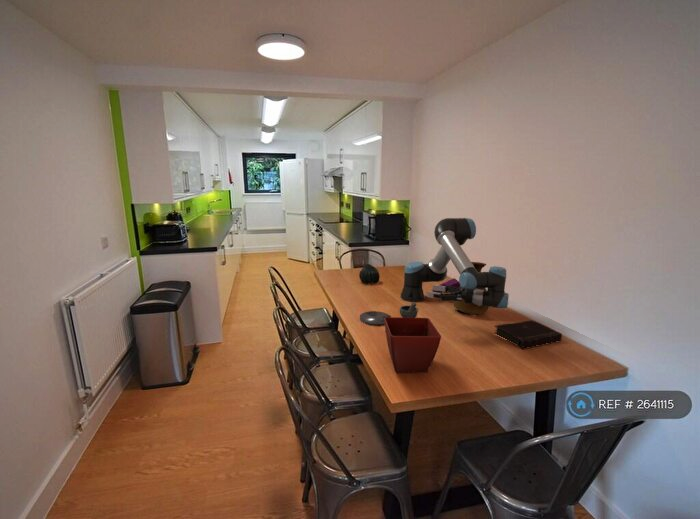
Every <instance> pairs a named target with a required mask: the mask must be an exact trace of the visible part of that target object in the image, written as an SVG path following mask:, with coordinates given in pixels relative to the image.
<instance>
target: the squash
mask: <svg viewBox="0 0 700 519" xmlns="http://www.w3.org/2000/svg"><path fill="white" fill-rule="evenodd" d="M380 277H381V276H380V272H379V270H378V268H376V267H375V266H373V265H372V264H370V263H366V264H365V265H364V266H363V267H362V268H361V269H360V270H359V276H358V278H359V280H360V282H361V283H363V284H365V285H369V284H374V285H375V284H377V283H379V281H380Z"/></svg>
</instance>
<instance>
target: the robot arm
mask: <svg viewBox="0 0 700 519" xmlns="http://www.w3.org/2000/svg"><path fill="white" fill-rule="evenodd" d="M476 235H477V226H476V223H475V221H474V220H473V219H472V218H468V217H453V218H452V217H450V218H449V217H446V218H443V219H441V220H439V221H438V223H437V224H436V226H434V238H435V240H436V243H438V244H439V245H441V246H440V248H439V250H438V252H437V253H436V255H435V256H434V258H432V259H430V260H429V261H428V263H423V262H422V261H411V262H410V261H409V262H408V263H406V264H405V265H404V277H403V278H404V281H403V283H404V284H403V287H402V291H401V293H400V299H401V298H402V300H403V299H404V300H403V301H407V302H411V303H412V302H415V303H417V302H422V301H424V300H425V293H424V289H423V283H435V282H436V283H437V282H438V283H439V282H443V281H444V280H445V279H447V277H448V274H447V273H448V268H447V265H448V264H449V262H450V261H451V262H452V264H453V265H454V267H455V269H456V270H457V272H458V273H459V278H458V281H459V283H460V286H461V287H462V288H464V289H460V288H456V287H453V286H449V285H448V286H439V285H440V284H432V289H433V290H436V291H444V292H445V293H444V292H442V293H436V292H433V291H426V297H427V298H431V299H437V300H439V299H440V301H443V302H445V301H446V302H453V301H462V299H464V302H465V303H468V304H472V303H473V304H476V305H478V306H480V305H483V306H489V307H490V308H494V309H495V308H496V309H506V308H508V304H509V293H508V292H505V289H506V288H505V286H506V281H507V269H506V268H505V267H502V266H495V265H493V266H490V267H489V270H488V271H481V272H478V271H477V270H476V269H475V267H474V266H473V264H472V263H471V262H472V261H471V260H470V258H469V257H468V255H467V253H466V252H465V250H463V248H462V246H463V245H465V244H466V242H467V240H473V239H474V238H475V237H476ZM477 288H486V290H480V289H477ZM465 289H466V290H465ZM474 289H475V290H474ZM445 290H446V291H445Z"/></svg>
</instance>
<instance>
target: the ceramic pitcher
mask: <svg viewBox="0 0 700 519" xmlns="http://www.w3.org/2000/svg"><path fill="white" fill-rule="evenodd" d="M471 263H472V264H473V266H474V267H475V269H476V270H477V271H478V272H482V270H483V268H484V267H485V266H487V263H485V262H481V261H478V262H477V261H471ZM459 288H460V289H464V288H462V287H461V286H460V287H459ZM477 289H480V290H487V288H477ZM465 290H466V289H465ZM474 290H475V289H474ZM452 306H453V307H454V308H455V309H456V310H457V311H458V310H459V311H460V312H462V313H465V314H468V315H473V316H478V315H480V314H485V313H487V312H488V311H489V306H483V305H480V306H478V305H476V304H473V303H472V304H468V303H465V302H464V299H462V301H452Z"/></svg>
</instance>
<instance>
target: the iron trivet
mask: <svg viewBox="0 0 700 519" xmlns="http://www.w3.org/2000/svg"><path fill="white" fill-rule="evenodd" d="M385 317H392V316H391V315H390V314H389V313H386V312H382V311H376V310H373V311H371V310H370V311H365V312H362V313H361V314H360V316H359V321H360V322H361V323H362V322H363V324H364V323H365V325H367V324H368V326H372V325H373V327H379V326H381V325H382V326H385V319H384V318H385Z"/></svg>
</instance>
